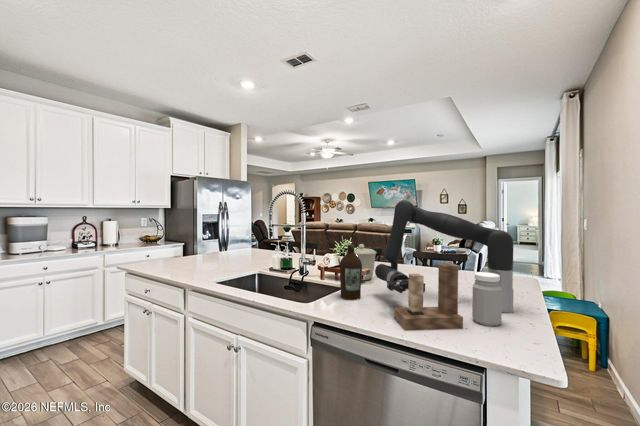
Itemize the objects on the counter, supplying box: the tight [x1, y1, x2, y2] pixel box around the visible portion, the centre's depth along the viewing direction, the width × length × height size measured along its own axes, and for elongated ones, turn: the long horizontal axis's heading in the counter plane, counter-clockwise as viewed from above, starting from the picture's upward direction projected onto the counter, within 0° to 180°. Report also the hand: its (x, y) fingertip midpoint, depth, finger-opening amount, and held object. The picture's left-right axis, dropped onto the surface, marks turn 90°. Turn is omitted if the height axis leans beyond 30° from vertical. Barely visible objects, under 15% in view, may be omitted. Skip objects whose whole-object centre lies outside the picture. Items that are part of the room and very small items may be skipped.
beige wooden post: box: [407, 273, 425, 315], centre depth 114 cm, size 4×4×18 cm
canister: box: [354, 243, 377, 281], centre depth 187 cm, size 18×18×21 cm
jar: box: [471, 271, 503, 327], centre depth 116 cm, size 10×10×18 cm
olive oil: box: [339, 244, 362, 301], centre depth 148 cm, size 11×11×25 cm
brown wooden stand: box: [393, 262, 464, 331], centre depth 114 cm, size 22×12×22 cm, turn 95°
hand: (412, 290), depth 117 cm, fingers open, 8 cm apart
